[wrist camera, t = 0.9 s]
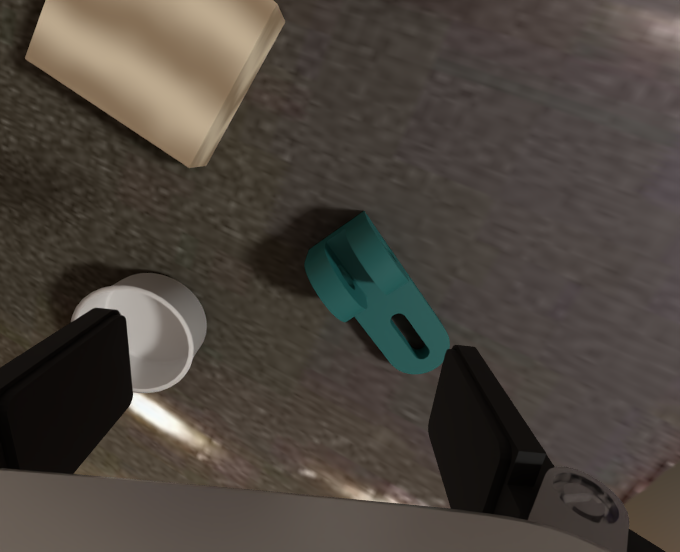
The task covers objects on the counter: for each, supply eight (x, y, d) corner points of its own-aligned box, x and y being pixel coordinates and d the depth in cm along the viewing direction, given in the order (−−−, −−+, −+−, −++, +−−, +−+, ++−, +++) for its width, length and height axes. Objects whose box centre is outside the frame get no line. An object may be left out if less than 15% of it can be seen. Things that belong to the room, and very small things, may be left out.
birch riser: (129, -102, 28) (95, -141, 24) (285, 21, 30) (276, 3, 26) (62, 69, 31) (24, 58, 28) (206, 165, 34) (189, 167, 30)
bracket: (309, 249, 37) (300, 274, 30) (364, 210, 36) (369, 226, 28) (403, 372, 42) (416, 421, 34) (455, 342, 40) (480, 386, 33)
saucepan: (55, 374, 42) (14, 407, 37) (138, 244, 37) (104, 260, 32) (143, 425, 44) (116, 462, 39) (233, 309, 39) (216, 334, 34)
